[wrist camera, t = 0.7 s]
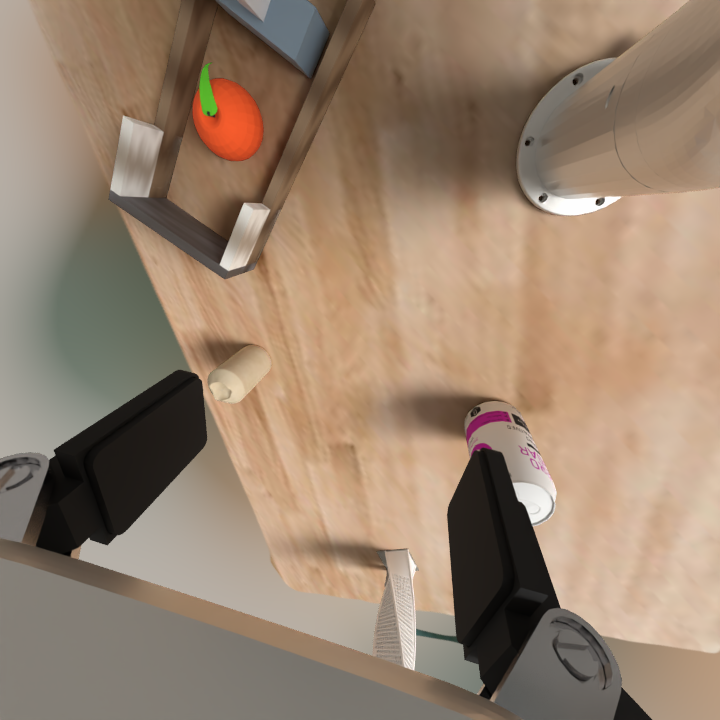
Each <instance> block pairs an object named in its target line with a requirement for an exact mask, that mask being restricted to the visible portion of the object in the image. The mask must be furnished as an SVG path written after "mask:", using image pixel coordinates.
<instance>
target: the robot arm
mask: <svg viewBox="0 0 720 720" xmlns="http://www.w3.org/2000/svg"><path fill="white" fill-rule="evenodd" d="M573 80H576V81H577V82H576V85H573V83H572V81H573ZM526 141H529V145H528V146H526V145H525V142H526ZM516 170H517V176H518V181H519V183H520V186H521V189H522V191H523V192H524V194H525V195H526V197H527V198H528V200H529V201H530V202H532V203H533V204H534V205H535V206H536V207H537V208H539V209H541V210H543V211H545V212H547V213H551V214H554V215H560V216H579V215H583V214H588V213H592V212H595V211H598V210H600V209H603V208H605V207H607V206H608V205H610V204H612V203H614V202H615V201H617V200H619V199H620V198H621V197H623V196H636V195H651V194H666V193H680V192H689V191H701V190H708V189H714V188H719V187H720V0H689V1H688V2H687V3H686V4H685V5H683V6H682V7H681V8H680V9H679V10H678V11H676V12H675V13H674V14H672V15H671V16H670V17H669V18H667V19H666V20H665V21H664V22H662V23H661V24H660V25H658V26H657V27H656V28H655V29H653V30H652V31H651V32H650V33H648V34H647V35H646V36H645V37H643V38H642V39H641V40H639V41H638V42H637V43H636V44H634V45H633V46H632V47H631V48H629V49H628V50H627V51H626V52H624V53H623V54H622V55H620V56H619V57H618V58H607V59H602V60H597V61H594V62H591V63H589V64H587V65H584V66H582V67H580V68H578V69H576V70H575V71H573V72H572V73H570V74H569V75H567V76H565V77H564V78H563V79H562V80H561V81H559V82H558V83H557V84H556V85H555V86H554V87H553V88H551V89H550V90H549V92H548V93H547V94H546V95H545V96H544V97H543V98H542V99H541V100H540V102H539V103H538V104H537V106H536V107H535V108H534V110H533V111H532V113H531V115H530V117H529V118H528V120H527V122H526V124H525V126H524V129H523V131H522V134H521V137H520V139H519V144H518V149H517V156H516ZM539 196H542V197H543V198H542V200H541V201H539V200H538V198H539ZM596 199H598V203H597V204H595V201H596ZM206 441H207V431H206V420H205V408H204V397H203V386H202V381H201V380H200V379H199V377H198V375H197V374H195V373H191V372H187V371H183V370H177V371H175V372H173V373H172V374H170V375H169V376H167V377H166V378H164V379H163V380H161V381H160V382H158V383H157V384H155V385H153V386H152V387H150V388H149V389H147V390H146V391H144V392H143V393H141V394H140V395H138V396H136V397H135V398H133V399H132V400H130V401H129V402H127V403H126V404H124V405H122V406H121V407H119V408H118V409H116V410H115V411H113V412H112V413H110V414H109V415H107V416H105V417H104V418H102V419H101V420H99V421H98V422H96V423H95V424H93V425H92V426H90V427H88V428H87V429H85V430H84V431H82V432H81V433H79V434H78V435H76V436H75V437H73V438H71V439H70V440H68V441H67V442H65V443H64V444H62V445H61V446H59V447H58V448H56V449H55V450H54V452H55V454H56V456H54V457H53V458H51V459H50V460H48V458H47V457H46V456H45V455H42V454H40V453H31V452H30V453H19V454H15V455H11V456H7V457H3V458H1V459H0V720H652V719H651V718H650V717H649V716H648V715H647V714H646V713H645V712H644V711H643V709H642V708H641V707H640V706H639V705H638V704H637V703H636V702H635V701H634V700H633V699H632V698H631V697H630V696H629V695H628V694H627V693H626V692H625V690H624V689H623V688H622V687H621V686H622V678H621V674H620V670H619V667H618V664H617V662H616V660H615V658H614V656H613V654H612V652H611V650H610V648H609V647H608V645H607V644H606V643H605V641H604V640H603V638H602V637H601V636H600V635H599V634H598V632H597V631H596V630H595V629H594V628H593V627H592V626H591V625H590V624H589V623H587V622H586V621H585V620H584V619H582V618H581V617H580V616H578V615H576V614H574V613H572V612H570V611H568V610H565V609H561V608H560V605H559V602H558V599H557V596H556V593H555V590H554V588H553V585H552V582H551V579H550V576H549V573H548V570H547V567H546V564H545V561H544V558H543V555H542V553H541V550H540V547H539V544H538V541H537V538H536V535H535V532H534V529H533V526H532V523H531V520H530V517H529V515H528V512H527V509H526V507H525V505H524V504H523V503H522V502H519V501H518V499H517V496H516V493H515V489H514V486H513V483H512V480H511V477H510V474H509V471H508V468H507V465H506V462H505V458H504V455H503V453H502V452H500V451H496V450H492V449H488V448H484V447H483V448H481V449H480V451H477V450H475V451H474V452H473V454H472V456H471V458H470V460H469V463H468V465H467V467H466V469H465V471H464V473H463V476H462V478H461V480H460V482H459V484H458V486H457V489H456V491H455V493H454V495H453V497H452V499H451V502H450V504H449V507H448V513H447V519H448V532H449V545H450V558H451V572H452V585H453V598H454V612H455V625H456V636H457V640H458V642H459V643H461V644H463V647H464V658H465V660H467V661H470V662H473V663H476V664H479V670H480V679H481V680H482V681H483V683H484V684H483V685H482V687H481V688H480V690H479V692H478V693H477V694H474V693H472V692H469V691H467V690H465V689H462V688H460V687H458V686H455V685H453V684H450V683H448V682H445V681H441V680H439V679H436V678H433V677H431V676H428V675H425V674H422V673H420V672H417V671H414V670H411V669H408V668H406V667H403V666H400V665H397V664H394V663H392V662H389V661H386V660H383V659H380V658H377V657H374V656H371V655H368V654H365V653H362V652H359V651H356V650H353V649H350V648H347V647H344V646H341V645H338V644H335V643H332V642H329V641H326V640H323V639H320V638H318V637H315V636H311V635H309V634H305V633H302V632H299V631H297V630H294V629H290V628H288V627H284V626H282V625H278V624H276V623H272V622H269V621H266V620H263V619H260V618H257V617H254V616H251V615H248V614H245V613H242V612H239V611H236V610H233V609H230V608H227V607H224V606H221V605H218V604H215V603H212V602H208V601H205V600H202V599H199V598H196V597H193V596H190V595H187V594H184V593H181V592H178V591H175V590H172V589H169V588H166V587H163V586H159V585H156V584H153V583H150V582H147V581H144V580H141V579H137V578H134V577H132V576H128V575H125V574H122V573H119V572H116V571H113V570H109V569H106V568H103V567H100V566H97V565H94V564H91V563H88V562H85V561H82V560H78V559H79V554H80V549H81V545H82V544H83V543H84V542H85V541H86V540H87V539H88V538H90V540H92V541H96V542H99V543H102V544H105V545H108V544H109V543H110V542H111V541H112V540H113V539H114V538H115V537H116V536H117V535H121V534H123V533H124V532H125V531H126V530H127V529H128V528H129V527H130V526H131V525H132V524H133V523H134V522H135V521H136V520H137V519H138V517H139V516H140V515H141V514H142V513H143V512H144V511H145V510H146V509H147V508H148V507H149V506H150V505H151V504H152V503H153V501H154V500H155V499H156V498H157V497H158V496H159V495H160V494H161V493H162V492H163V491H164V490H165V489H166V487H167V486H168V485H169V484H170V483H171V482H172V481H173V480H174V479H175V478H176V477H177V476H178V475H179V474H180V472H181V471H182V470H183V469H184V468H185V467H186V466H187V465H188V464H189V463H190V462H191V460H192V459H193V458H194V457H195V456H196V455H197V454H198V453H199V452H200V451H201V450H202V449H203V447H204V446H205V444H206Z"/></svg>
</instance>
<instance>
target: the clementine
mask: <svg viewBox="0 0 720 720" xmlns="http://www.w3.org/2000/svg"><path fill="white" fill-rule="evenodd" d="M209 64H211V63H209ZM209 64H206V65H205V66H204V68H203V69H202V73H201V77H200V87H199V89H198V90H197V92H196V94H195V97H194V101H193V112H192V113H193V120H194V124H195V127H196V130H197V132H198V134H199V136H200V137H201V139H202V141H203V142H204V143H205V144H206V145H207V147H208V148H209V149H210V150H211V151H212V152H214V153H215V154H217V155H218V156H220V157H222V158H224V159H227V160H230V161H243V160H246V159H249V158H250V157H251V156H252V155H254V154H255V153H256V151H257V150H258V149H259V147H260V145H261V142H262V139H263V121H262V117H261V114H260V110H259V108H258V106H257V104H256V102H255V100H254V99H253V98H252V97H251V96H250V94H249V93H248V92H247V91H246V90H245V89H244V88H243V87H241V86H240V85H239V84H237V83H235V82H232V81H229V80H227V79H224V78H215V79H212V80H209V74H208V66H209Z"/></svg>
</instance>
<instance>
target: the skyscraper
mask: <svg viewBox="0 0 720 720" xmlns="http://www.w3.org/2000/svg"><path fill="white" fill-rule="evenodd" d="M377 554H378V555H379V557H380V559H381V560H382V562H383V564H384V565H385V567H386V569H387V577H386V582H385V590H384V593H383V596H382V599H381V603H380V607H379V611H378V615H377V621H376V625H375V632H374V641H373V656H374V657H377V658H380V659H383V660H386V661H389V662H392V663H394V664H397V665H400V666H403V667H406V668H408V669H411V670H414V667H415V652H416V623H415V622H416V620H415V619H416V618H415V602H414V591H413V582H412V580H413V576H414V573H415V571H419V569H418V567H417V565H416V563H415V561H414V560H413V558H412V556H411V554H410V552H409V550H408V549H397V550H386V551H377Z"/></svg>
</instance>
